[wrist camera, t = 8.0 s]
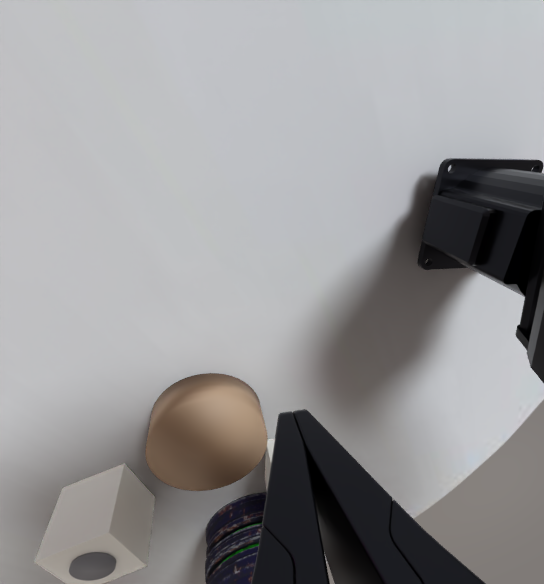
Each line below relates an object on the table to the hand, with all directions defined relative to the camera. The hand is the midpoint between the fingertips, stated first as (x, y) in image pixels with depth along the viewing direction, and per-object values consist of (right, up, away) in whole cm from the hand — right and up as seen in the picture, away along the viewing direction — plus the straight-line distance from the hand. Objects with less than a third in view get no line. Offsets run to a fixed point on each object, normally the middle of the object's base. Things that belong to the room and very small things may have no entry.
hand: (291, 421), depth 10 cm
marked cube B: (-13, -12, +17) cm, 25 cm away
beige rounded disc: (-5, -5, +15) cm, 17 cm away
